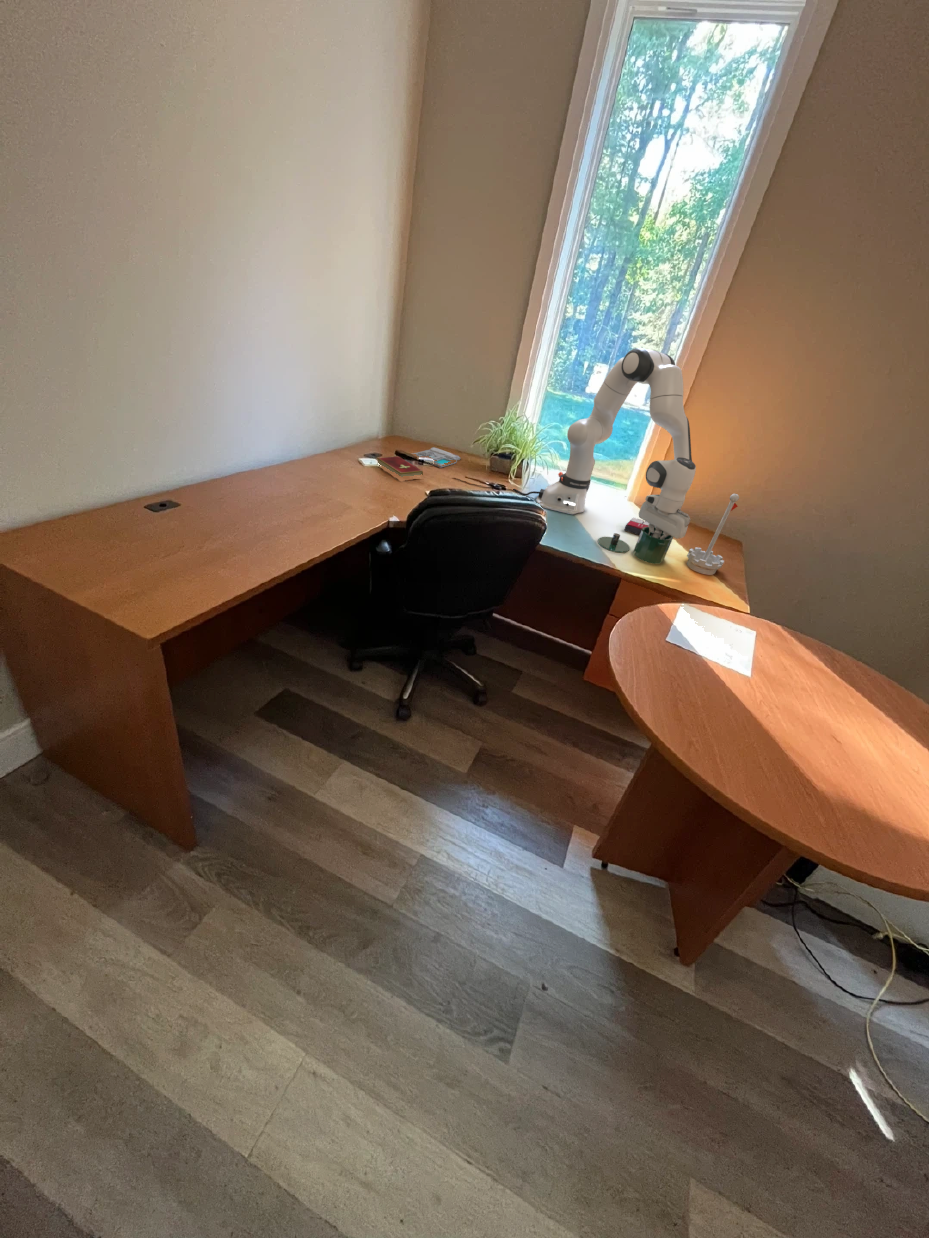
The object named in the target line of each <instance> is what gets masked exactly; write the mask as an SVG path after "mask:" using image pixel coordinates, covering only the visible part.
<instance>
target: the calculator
mask: <svg viewBox="0 0 929 1238" xmlns="http://www.w3.org/2000/svg"><path fill="white" fill-rule="evenodd" d="M649 524H650V523H648V522H646V521H645V520H643V519H641V518H636V517H631V519H630V520H629V521H628V522H627V523H626V525H625V527H624V532H627V533H631V534H633V535H636V536H638V537H639V536H640V533H641V530H642V528H643V527H648V525H649Z"/></svg>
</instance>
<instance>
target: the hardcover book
mask: <svg viewBox="0 0 929 1238" xmlns="http://www.w3.org/2000/svg"><path fill="white" fill-rule="evenodd" d="M376 459H377V464H378V463H379V464H380V465H382V466H384V467H386V468H387V469H389V470H390V471H392V472H395V473H396V474H398V475H399V476H401V477H403V476H414V475H421V474H422V475H423V476H424V471H423V470H422V469H420V468H419V467H417V466H415V465H414V464H412V463H410V462H409V461H407V460H405V459H403V458H402V457H401V456H399V455H392V456H391V455H390V456H382V457H380V456H379V457H376ZM380 465H379V466H380Z"/></svg>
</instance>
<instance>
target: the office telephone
mask: <svg viewBox="0 0 929 1238" xmlns="http://www.w3.org/2000/svg"><path fill="white" fill-rule="evenodd" d="M412 454H416V455H417V456H419V457H421V456H429V457H431V458H433V460H437V461H434V463H435V464H436V465H435V464H433V463H430V464H429V465H432V466H434V467H438V468H440V469H441V468H445V467H448V466H452V465H454V464H457V462H459V461H461V457H460V456H459V455H458V454H455V453H452V452H449V451H446V450H443V449H440V448H438V447H434V446H432V447H431V448H430V449H426V450H422V451H418V452H413V453H412ZM450 460H456V462H454V463H451V464H448V465H445V464H444V463H448V462H451V461H450ZM438 465H439V466H438ZM442 465H444V466H442Z"/></svg>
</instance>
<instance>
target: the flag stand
mask: <svg viewBox="0 0 929 1238" xmlns="http://www.w3.org/2000/svg"><path fill="white" fill-rule="evenodd" d="M739 499H740V495H739V494H737V493H731V495H730V496H729V503H728V504H727V507H726V509H725V511H724V513H723V516H722V518H721V520H720V522H719V524H718V526H717V528H716V530H715V532H714V534H713V536H712V539H711V541H710V542H709V544H708V547H707V548H706V551H705V550H702V548H701V547H698V546H695V547H694V548H689V550H688V552H687V554H686V557H687V561H686V566H687V567H688V568H689V569H691V570H692V571H694V572H696V573H699V574H702V575H708V576H711V575H715V574H716V572H717V570H720V569H721V568H722V567H723V565H724V564H725V560H723V559H724V557H723V556H722V555H721V554H717V555H715V554H714V550H713V549H714V546H715V544H716V542H717V540H718V538H719V536H720V535H721V532H722V530H723V528H724V526H725V524H726V521H727V519H728V517H729V515H730V513H731V512H732V511H733V510H735V509H737V508H738V507H739V505H738V504H736V502H738V501H739Z"/></svg>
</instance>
